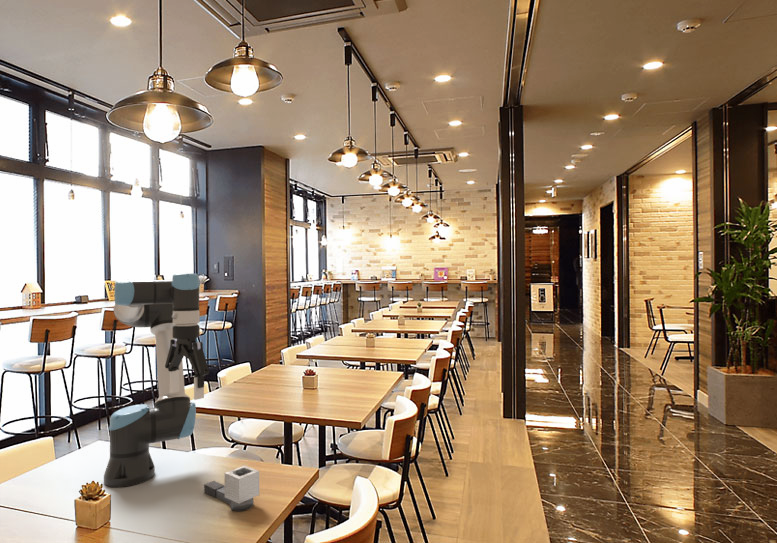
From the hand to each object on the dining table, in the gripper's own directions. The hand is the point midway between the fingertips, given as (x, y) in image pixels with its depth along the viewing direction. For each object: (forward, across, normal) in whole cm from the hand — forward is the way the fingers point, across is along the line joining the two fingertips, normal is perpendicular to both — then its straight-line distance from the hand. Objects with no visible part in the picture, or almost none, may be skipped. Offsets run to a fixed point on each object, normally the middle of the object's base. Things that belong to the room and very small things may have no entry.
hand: (186, 395), depth 145 cm
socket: (+29, +16, +8) cm, 34 cm away
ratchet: (+32, +9, +8) cm, 34 cm away
